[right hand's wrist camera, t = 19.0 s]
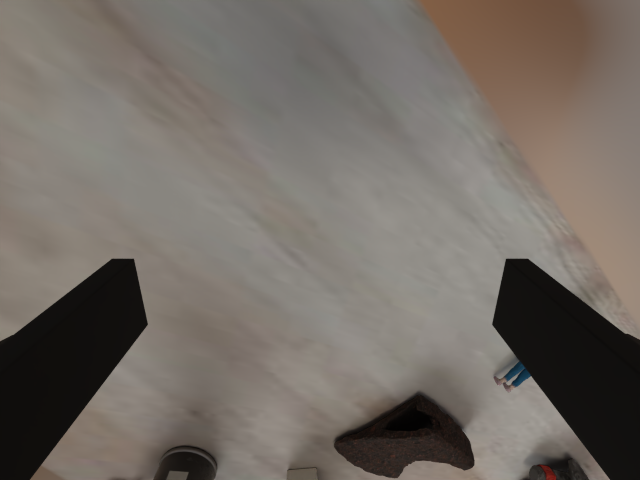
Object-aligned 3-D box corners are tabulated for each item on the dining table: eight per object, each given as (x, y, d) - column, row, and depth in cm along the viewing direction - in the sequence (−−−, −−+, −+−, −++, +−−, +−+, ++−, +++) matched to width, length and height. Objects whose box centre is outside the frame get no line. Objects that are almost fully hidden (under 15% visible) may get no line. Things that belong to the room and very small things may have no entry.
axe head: (394, 504, 61) (328, 488, 54) (384, 453, 67) (324, 433, 60) (487, 465, 52) (423, 441, 46) (466, 411, 59) (407, 384, 52)
